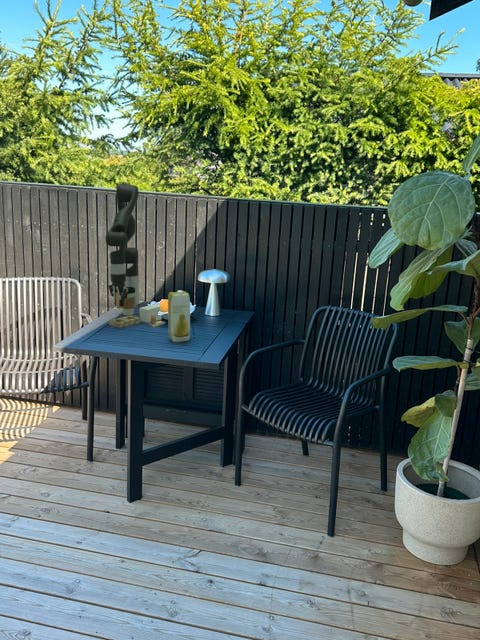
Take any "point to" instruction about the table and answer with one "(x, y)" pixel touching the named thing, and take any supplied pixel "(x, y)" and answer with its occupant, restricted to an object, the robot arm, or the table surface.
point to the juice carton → (179, 316)
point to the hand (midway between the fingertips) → (119, 305)
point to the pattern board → (153, 321)
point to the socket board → (125, 321)
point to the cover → (149, 313)
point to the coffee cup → (129, 302)
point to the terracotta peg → (118, 301)
